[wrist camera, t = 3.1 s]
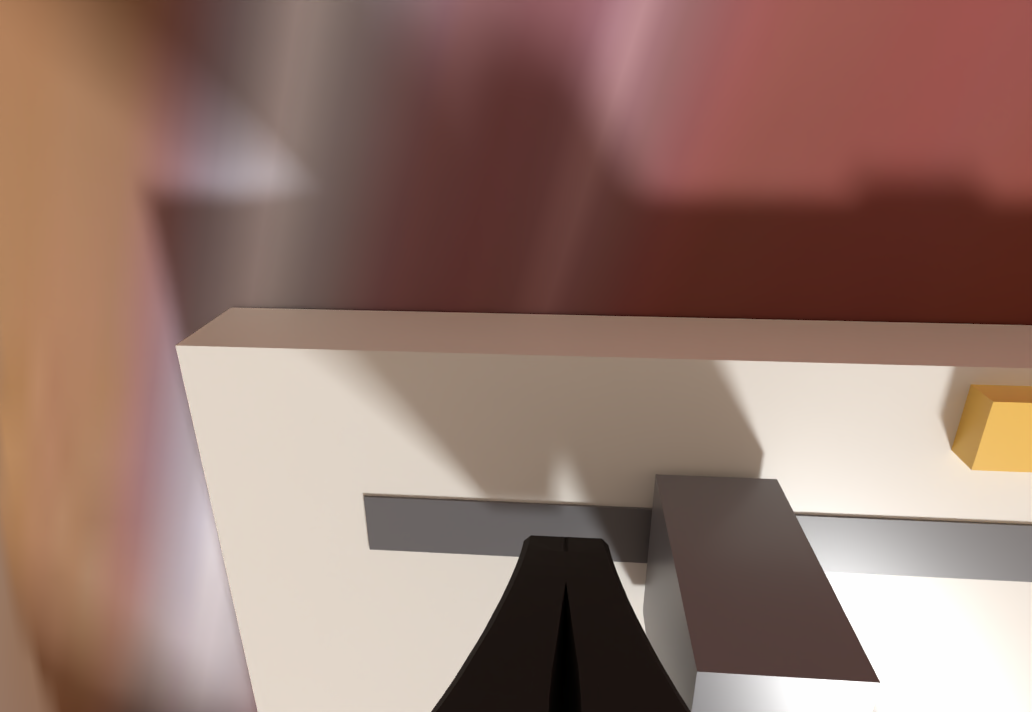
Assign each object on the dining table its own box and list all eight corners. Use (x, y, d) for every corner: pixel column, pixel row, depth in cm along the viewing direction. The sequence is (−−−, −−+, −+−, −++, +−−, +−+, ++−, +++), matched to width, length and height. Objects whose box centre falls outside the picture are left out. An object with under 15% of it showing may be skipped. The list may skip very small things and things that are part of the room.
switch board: (1095, 861, 17) (1179, 986, 15) (322, 801, 19) (286, 906, 17) (1390, 333, 11) (1606, 400, 9) (231, 307, 13) (155, 359, 11)
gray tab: (752, 616, 12) (831, 851, 8) (642, 610, 12) (673, 838, 9) (777, 478, 11) (880, 682, 7) (655, 474, 11) (696, 670, 7)
